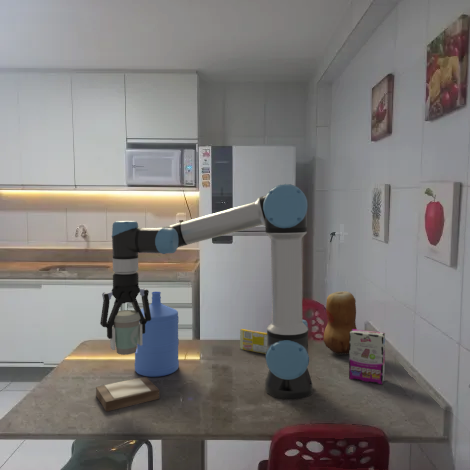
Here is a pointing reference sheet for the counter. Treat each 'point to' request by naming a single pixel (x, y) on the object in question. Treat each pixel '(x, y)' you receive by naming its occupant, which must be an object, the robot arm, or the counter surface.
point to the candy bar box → (367, 356)
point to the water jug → (158, 341)
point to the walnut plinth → (126, 393)
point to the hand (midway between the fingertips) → (126, 346)
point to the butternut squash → (339, 321)
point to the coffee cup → (126, 331)
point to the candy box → (253, 341)
